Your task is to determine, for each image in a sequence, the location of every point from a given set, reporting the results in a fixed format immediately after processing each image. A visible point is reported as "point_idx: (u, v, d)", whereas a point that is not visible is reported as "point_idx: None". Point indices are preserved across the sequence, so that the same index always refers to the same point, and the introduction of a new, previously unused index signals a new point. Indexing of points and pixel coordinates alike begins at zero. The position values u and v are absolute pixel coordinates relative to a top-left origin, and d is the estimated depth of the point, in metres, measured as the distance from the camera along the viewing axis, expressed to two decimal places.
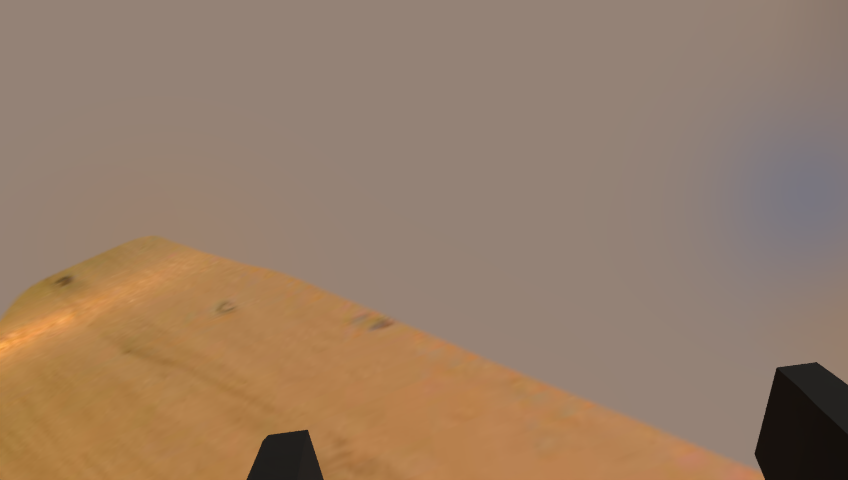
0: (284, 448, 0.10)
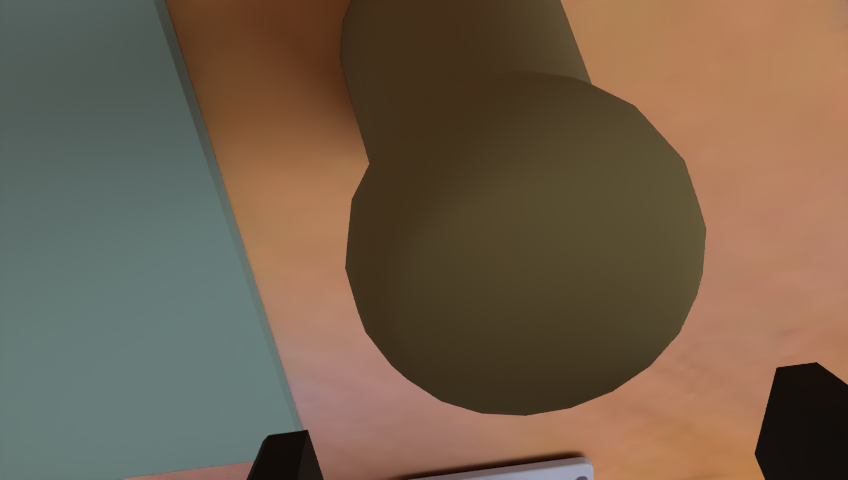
0: (284, 448, 0.10)
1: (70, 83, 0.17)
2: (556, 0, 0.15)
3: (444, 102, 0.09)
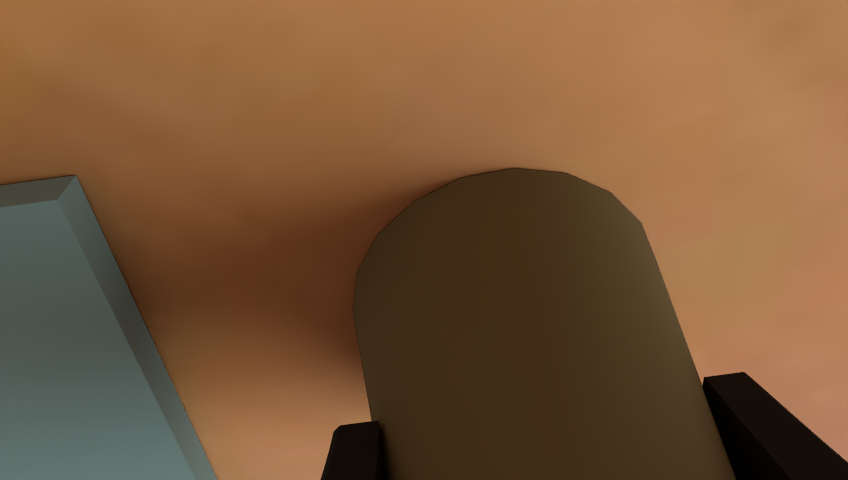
0: (358, 438, 0.10)
1: None
2: (660, 287, 0.11)
3: None
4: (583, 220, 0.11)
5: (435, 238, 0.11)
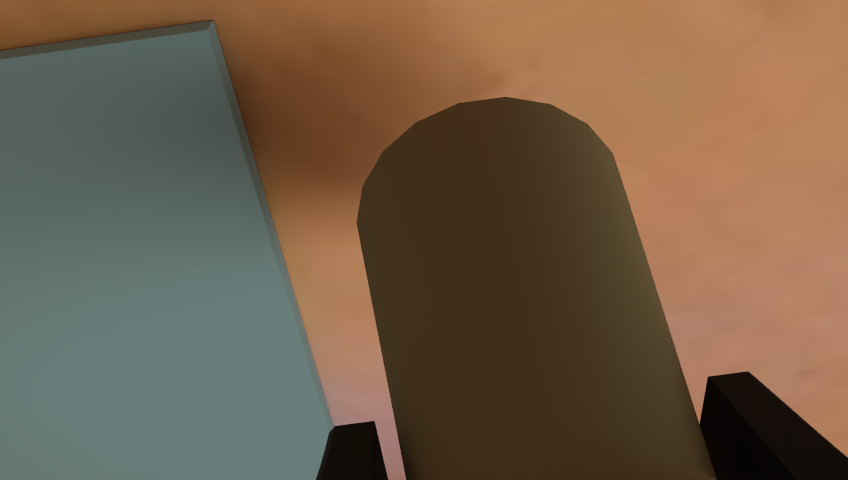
0: (353, 438, 0.10)
1: (144, 163, 0.18)
2: (624, 201, 0.13)
3: None
4: (561, 141, 0.13)
5: (434, 151, 0.13)
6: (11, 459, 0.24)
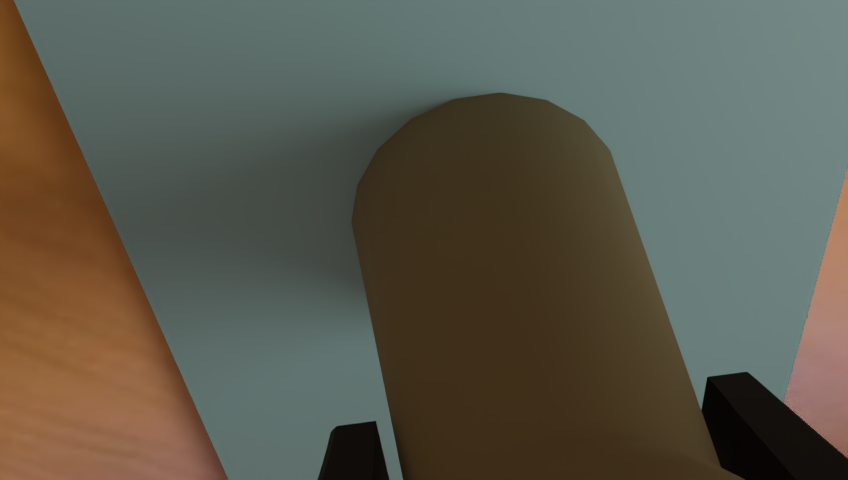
0: (355, 439, 0.10)
1: None
2: (622, 196, 0.13)
3: None
4: (558, 135, 0.13)
5: (429, 146, 0.13)
6: (379, 402, 0.18)
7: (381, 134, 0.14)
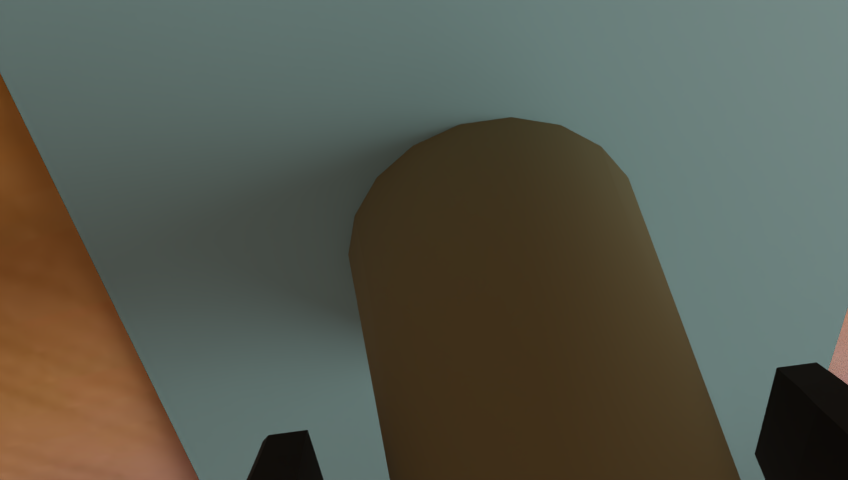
0: (284, 448, 0.10)
1: None
2: (644, 232, 0.11)
3: None
4: (575, 165, 0.11)
5: (433, 177, 0.11)
6: (379, 440, 0.17)
7: (380, 162, 0.12)
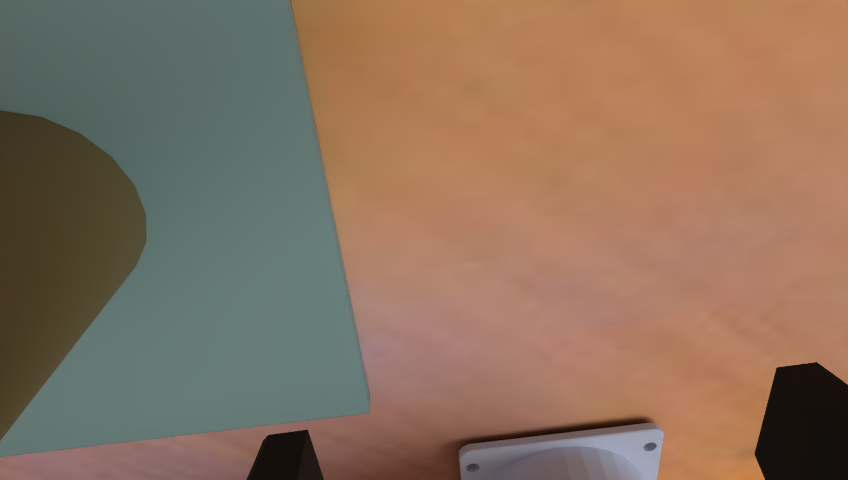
0: (284, 448, 0.10)
1: None
2: (71, 193, 0.16)
3: None
4: (21, 145, 0.16)
5: None
6: None
7: None
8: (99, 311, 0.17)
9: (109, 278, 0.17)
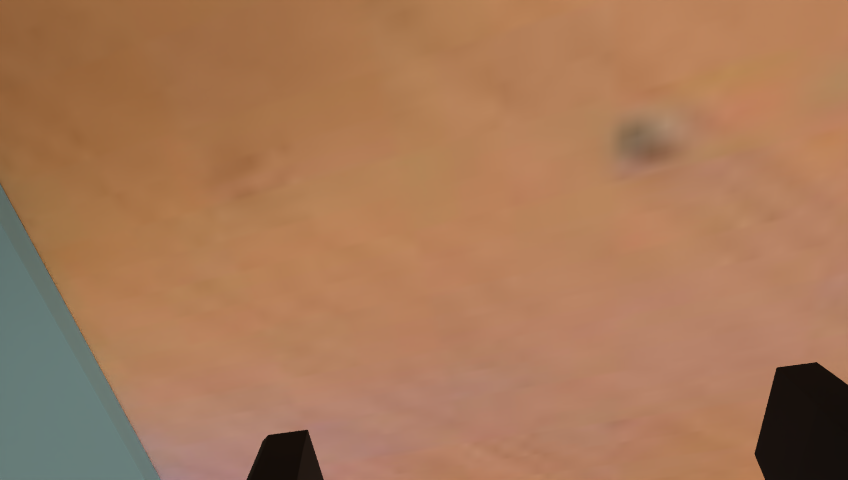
0: (284, 448, 0.10)
1: None
2: None
3: None
4: None
5: None
6: None
7: None
8: None
9: None
